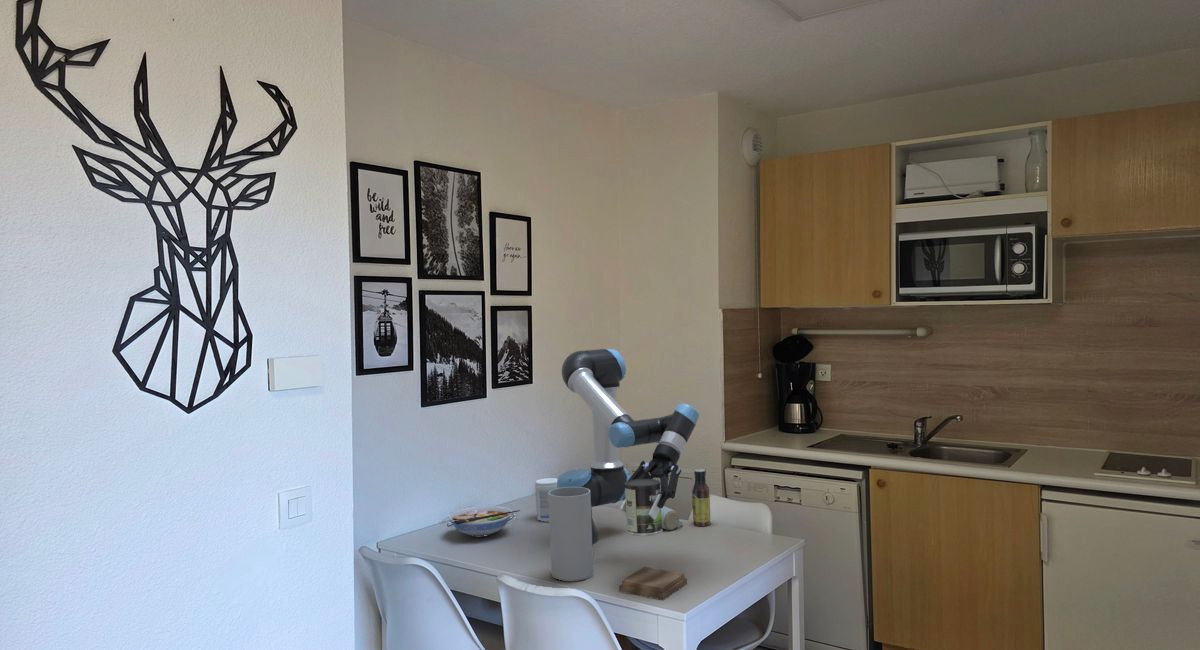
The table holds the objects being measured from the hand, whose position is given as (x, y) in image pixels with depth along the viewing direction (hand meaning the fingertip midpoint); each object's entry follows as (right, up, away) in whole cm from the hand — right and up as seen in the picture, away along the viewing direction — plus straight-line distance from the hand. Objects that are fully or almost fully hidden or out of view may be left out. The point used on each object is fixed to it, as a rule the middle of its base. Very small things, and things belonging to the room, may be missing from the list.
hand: (637, 514), depth 222 cm
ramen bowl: (-53, -21, +58) cm, 82 cm away
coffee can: (+2, -6, +2) cm, 6 cm away
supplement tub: (-30, -20, +75) cm, 83 cm away
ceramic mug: (+14, -19, +58) cm, 63 cm away
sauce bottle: (+26, -18, +60) cm, 68 cm away
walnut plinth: (+4, -20, -1) cm, 21 cm away
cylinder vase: (-19, -21, +12) cm, 31 cm away
